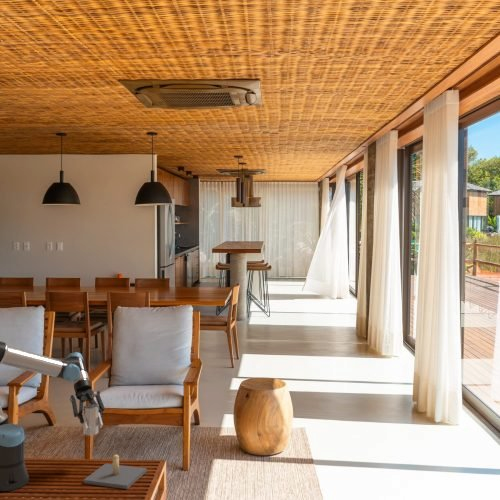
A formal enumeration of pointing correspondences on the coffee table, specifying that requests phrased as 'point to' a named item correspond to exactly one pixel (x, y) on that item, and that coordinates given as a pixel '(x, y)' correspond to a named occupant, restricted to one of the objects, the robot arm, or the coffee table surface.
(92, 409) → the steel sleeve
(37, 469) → the coffee table surface
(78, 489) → the coffee table surface
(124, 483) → the post plate
